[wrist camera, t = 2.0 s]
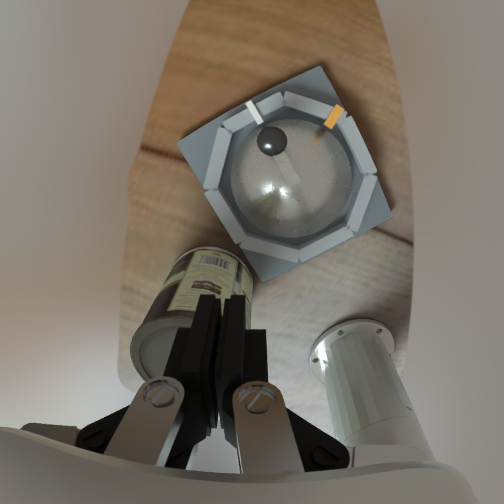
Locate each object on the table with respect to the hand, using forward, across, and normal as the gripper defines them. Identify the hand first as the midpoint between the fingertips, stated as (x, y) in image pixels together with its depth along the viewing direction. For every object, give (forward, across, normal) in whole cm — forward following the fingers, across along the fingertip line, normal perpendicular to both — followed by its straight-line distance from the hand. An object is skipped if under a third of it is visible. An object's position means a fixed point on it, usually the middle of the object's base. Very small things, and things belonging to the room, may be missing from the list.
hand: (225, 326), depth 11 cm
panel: (+22, -5, -2) cm, 23 cm away
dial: (+21, -5, -2) cm, 22 cm away
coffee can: (+23, +4, +12) cm, 26 cm away
